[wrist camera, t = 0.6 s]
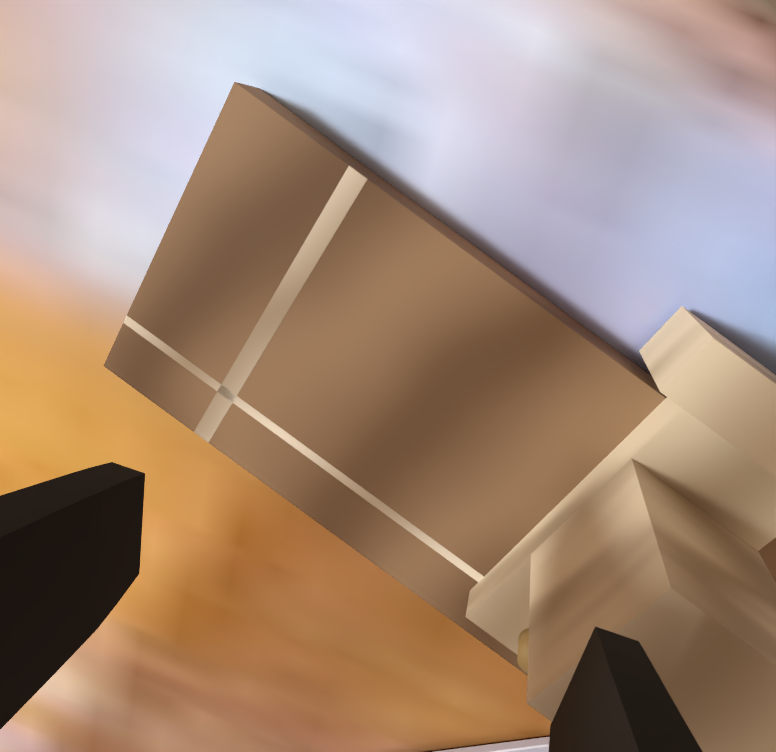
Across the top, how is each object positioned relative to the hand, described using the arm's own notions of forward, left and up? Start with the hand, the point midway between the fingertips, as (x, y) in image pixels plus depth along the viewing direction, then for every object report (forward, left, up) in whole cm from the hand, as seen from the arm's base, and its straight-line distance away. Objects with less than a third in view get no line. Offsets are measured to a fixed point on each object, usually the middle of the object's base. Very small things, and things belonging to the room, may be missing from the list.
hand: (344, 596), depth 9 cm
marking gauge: (-6, -4, -10) cm, 12 cm away
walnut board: (-1, +1, -10) cm, 10 cm away
